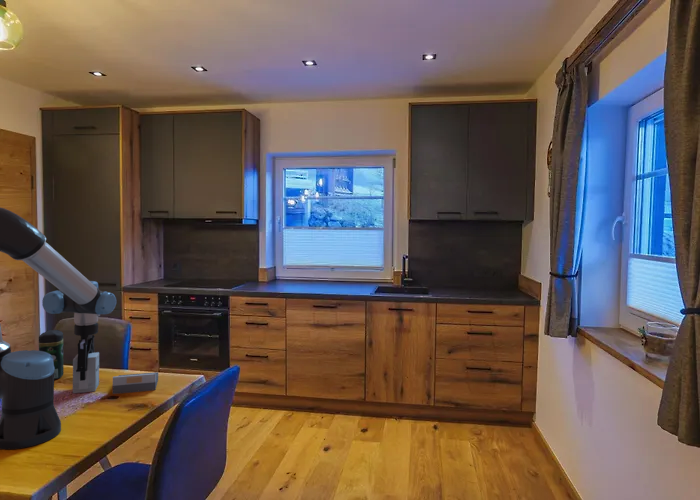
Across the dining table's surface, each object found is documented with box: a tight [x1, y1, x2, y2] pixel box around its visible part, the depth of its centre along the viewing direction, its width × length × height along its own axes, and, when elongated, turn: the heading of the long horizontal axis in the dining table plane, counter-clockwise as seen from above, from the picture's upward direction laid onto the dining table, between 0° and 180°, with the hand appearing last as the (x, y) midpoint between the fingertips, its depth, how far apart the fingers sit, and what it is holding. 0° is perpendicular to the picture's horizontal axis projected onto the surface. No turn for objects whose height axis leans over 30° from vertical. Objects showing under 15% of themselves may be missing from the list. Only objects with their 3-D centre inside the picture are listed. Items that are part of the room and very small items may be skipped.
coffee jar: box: [38, 329, 64, 380], centre depth 167 cm, size 10×8×19 cm
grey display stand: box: [112, 371, 159, 395], centre depth 159 cm, size 12×14×6 cm
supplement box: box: [72, 351, 100, 394], centre depth 155 cm, size 7×7×13 cm
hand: (86, 384), depth 155 cm, fingers closed on supplement box, 7 cm apart
